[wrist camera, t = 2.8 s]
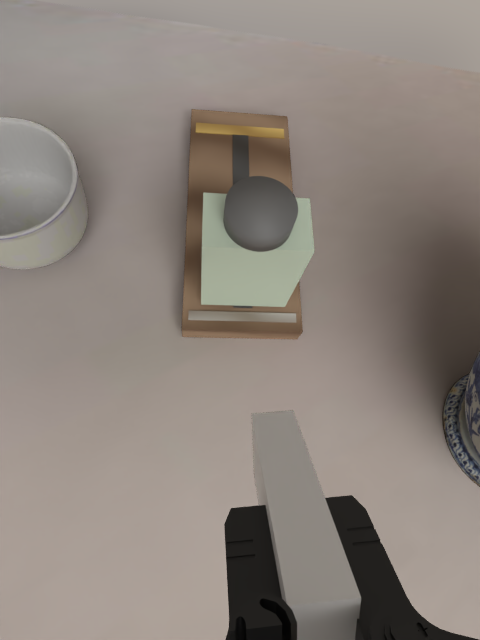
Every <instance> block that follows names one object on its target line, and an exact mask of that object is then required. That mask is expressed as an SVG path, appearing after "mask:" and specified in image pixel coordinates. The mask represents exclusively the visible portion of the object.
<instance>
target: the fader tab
mask: <svg viewBox="0 0 480 640" xmlns="http://www.w3.org/2000/svg"><path fill="white" fill-rule="evenodd" d="M313 253H314V240H313V229H312V217H311V206H310V198H295V196H294V194H293V193H292V191H291V190H290V189H289V188H288V187H287V186H286V185H284V184H283V183H281V182H280V181H278V180H276V179H273V178H270V177H265V176H251V177H247V178H244V179H242V180H240V181H238V182H236V183H235V184H234V185H233V186H232V187H231V188H230V189H229V191H228V193H227V194H221V193H203V222H202V270H201V305H234V306H268V307H285V306H286V304H287V302H288V300H289V298H290V297H291V295H292V293H293V291H294V289H295V287H296V285H297V283H298V282H299V280H300V278H301V276H302V274H303V272H304V270H305V268H306V266H307V265H308V263H309V261H310V259H311V257H312V255H313Z"/></svg>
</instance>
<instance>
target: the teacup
mask: <svg viewBox="0 0 480 640" xmlns="http://www.w3.org/2000/svg"><path fill="white" fill-rule="evenodd" d="M87 221H88V207H87V200H86V196H85V192H84V189H83V186H82V183H81V180H80V177H79V174H78V169H77V164H76V161H75V158H74V155H73V154H72V152H71V150H70V148H69V147H68V145H67V144H66V143H65V141H64V140H62V139H61V138H60V137H59V136H58V135H57V134H56V133H54V132H53V131H52V130H50V129H48V128H46V127H44V126H43V125H41V124H39V123H36V122H33V121H29V120H26V119H21V118H14V117H0V266H2V267H6V268H11V269H34V268H40V267H43V266H47V265H50V264H52V263H54V262H56V261H58V260H60V259H62V258H63V257H65V256H66V255H67V254H69V253H70V252H71V251H72V250H73V249H74V248H75V247H76V246H77V244H78V243H79V242H80V240H81V238H82V237H83V235H84V232H85V229H86V226H87Z"/></svg>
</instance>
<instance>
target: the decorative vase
mask: <svg viewBox="0 0 480 640" xmlns="http://www.w3.org/2000/svg"><path fill="white" fill-rule="evenodd" d="M443 426H444V432H445V437H446V440H447V444H448V446H449V449H450V451H451V453H452V455H453V457H454V459H455V460H456V462H457V463H458V465H459V466H460V468H461V469H462V470H463V472H464V473H465V474H466V475H467V476H468V477H469V478H470V479H471V480H472V481H473V482H474V483H476V484H477V485H478V486H480V352H479V354H478V356H477V358H476V360H475V362H474V364H473V366H472V369H471V372H470V374H468V375H466V376H464V377H463V378H461V379H460V380H459V381H458V382H456V383H455V384H454V385H453V387H452V388H451V390H450V392H449V394H448V396H447V398H446V401H445V405H444V412H443Z"/></svg>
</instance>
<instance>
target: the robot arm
mask: <svg viewBox="0 0 480 640" xmlns="http://www.w3.org/2000/svg"><path fill="white" fill-rule="evenodd" d="M252 440H253V466H254V479H255V485H256V492H257V498H258V504H259V506H250V507H239V508H231V510H230V512H229V515H228V517H227V519H226V522H225V543H226V562H227V582H228V601H229V630H228V633H227V637H226V640H479V639H475V638H470V637H466V636H462V635H458V634H454V633H450V632H447V631H445V630H442V629H439V628H438V627H436V626H434V625H432V624H431V623H429V622H428V621H427V620H426V619H424V618H423V617H422V616H421V615H420V614H419V613H418V612H417V611H416V610H415V609H414V607H413V606H412V605H411V603H410V601H409V600H408V598H407V596H406V594H405V592H404V590H403V588H402V585H401V583H400V581H399V579H398V577H397V575H396V573H395V571H394V568H393V566H392V564H391V562H390V560H389V558H388V556H387V554H386V551H385V549H384V547H383V545H382V544H381V542H380V539H379V537H378V534H377V532H376V530H375V529H374V526H373V524H372V522H371V520H370V517H369V515H368V513H367V511H366V509H365V508H364V507H363V506H362V505H361V504H360V503H359V502H358V501H357V500H356V499H355V498H354V497H353V496H352V495H351V496H341V497H330V498H325V496H324V494H323V491H322V488H321V485H320V483H319V480H318V477H317V474H316V472H315V469H314V466H313V463H312V461H311V458H310V455H309V452H308V450H307V447H306V444H305V441H304V439H303V436H302V433H301V430H300V427H299V425H298V422H297V419H296V416H295V414H294V411H293V410H290V411H278V412H266V413H255V414H252Z"/></svg>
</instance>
